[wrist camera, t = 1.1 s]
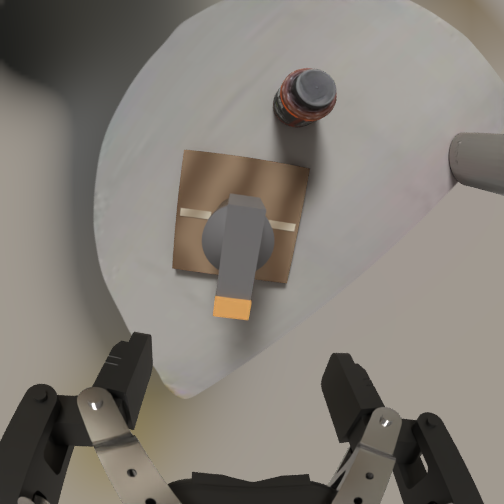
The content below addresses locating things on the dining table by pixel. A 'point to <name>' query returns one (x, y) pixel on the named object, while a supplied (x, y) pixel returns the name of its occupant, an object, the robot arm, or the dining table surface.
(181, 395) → the dining table surface
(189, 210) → the base
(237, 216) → the wing cap
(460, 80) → the dining table surface
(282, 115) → the supplement bottle
